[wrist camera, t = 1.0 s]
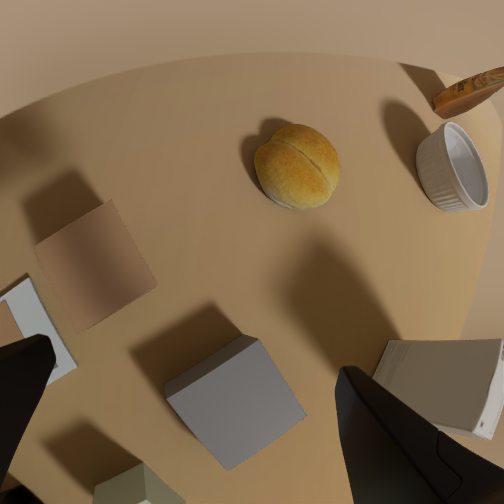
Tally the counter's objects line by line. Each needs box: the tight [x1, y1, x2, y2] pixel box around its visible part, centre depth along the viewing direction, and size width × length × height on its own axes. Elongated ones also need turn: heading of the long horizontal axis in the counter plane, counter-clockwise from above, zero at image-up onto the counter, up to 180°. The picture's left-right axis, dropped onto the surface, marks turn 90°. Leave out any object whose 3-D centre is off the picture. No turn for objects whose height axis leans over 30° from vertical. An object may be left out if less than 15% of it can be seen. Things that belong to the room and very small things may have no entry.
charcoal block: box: [163, 334, 307, 471], centre depth 22 cm, size 8×8×4 cm
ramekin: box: [416, 121, 489, 213], centre depth 35 cm, size 13×13×7 cm
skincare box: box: [372, 339, 504, 440], centre depth 22 cm, size 8×6×15 cm
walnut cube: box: [34, 199, 158, 334], centre depth 19 cm, size 6×6×6 cm
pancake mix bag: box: [432, 67, 504, 119], centre depth 33 cm, size 7×19×28 cm, turn 128°
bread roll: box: [254, 124, 341, 210], centre depth 27 cm, size 8×9×4 cm
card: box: [0, 278, 79, 386], centre depth 17 cm, size 10×8×1 cm
